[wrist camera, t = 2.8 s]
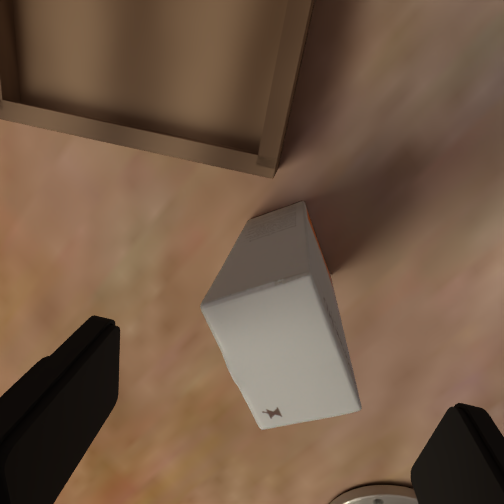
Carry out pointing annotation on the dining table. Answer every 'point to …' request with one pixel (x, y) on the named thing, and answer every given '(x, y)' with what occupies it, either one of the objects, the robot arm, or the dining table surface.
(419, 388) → the dining table surface
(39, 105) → the wooden tray
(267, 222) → the skincare box
